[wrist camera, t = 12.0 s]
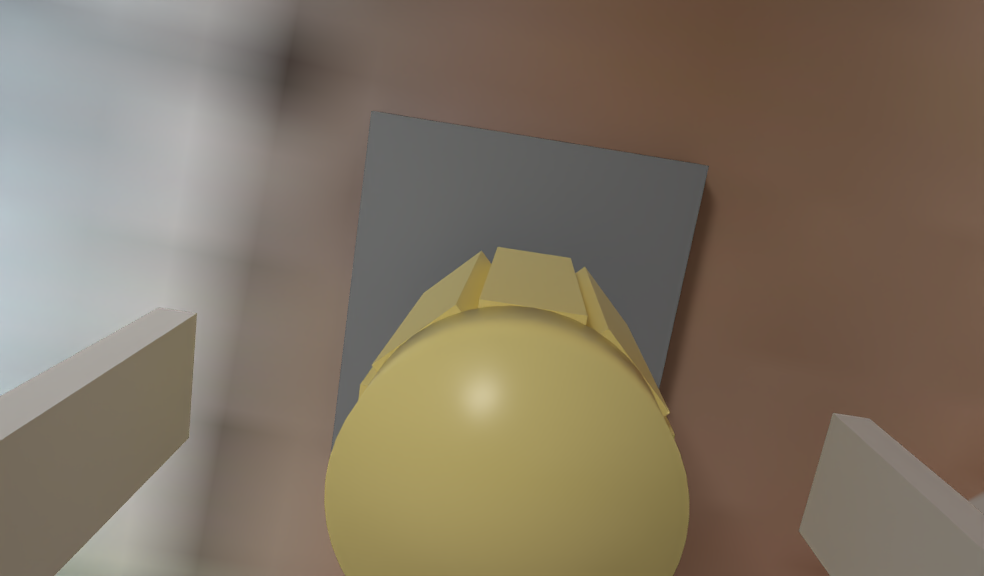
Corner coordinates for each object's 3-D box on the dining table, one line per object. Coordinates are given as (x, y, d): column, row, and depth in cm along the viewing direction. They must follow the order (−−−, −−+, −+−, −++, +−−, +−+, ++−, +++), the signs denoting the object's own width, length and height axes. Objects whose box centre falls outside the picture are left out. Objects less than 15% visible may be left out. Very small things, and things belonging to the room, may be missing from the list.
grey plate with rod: (378, 112, 22) (279, 101, 13) (698, 163, 22) (845, 193, 13) (335, 466, 25) (226, 686, 15) (622, 510, 25) (695, 756, 15)
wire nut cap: (424, 235, 20) (343, 306, 11) (644, 269, 20) (725, 367, 11) (398, 439, 21) (308, 638, 13) (604, 473, 21) (650, 697, 12)
